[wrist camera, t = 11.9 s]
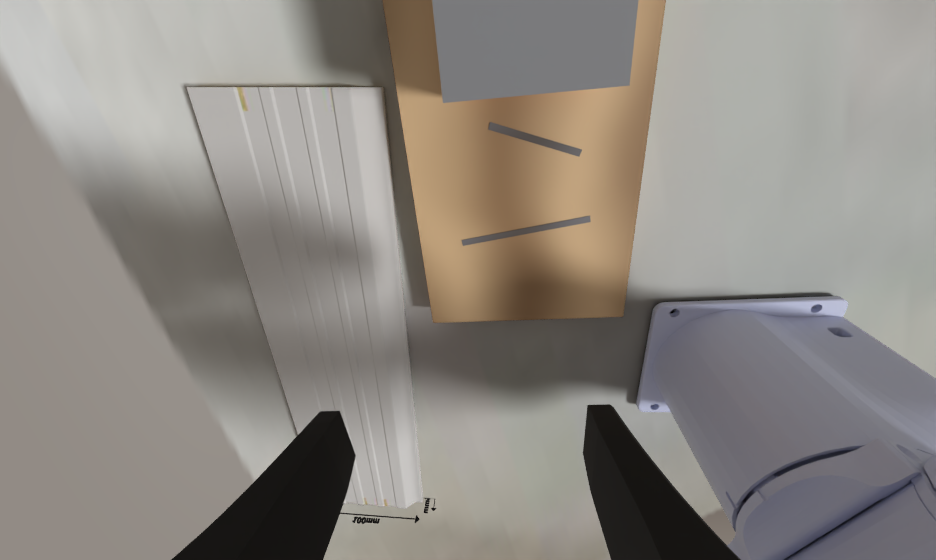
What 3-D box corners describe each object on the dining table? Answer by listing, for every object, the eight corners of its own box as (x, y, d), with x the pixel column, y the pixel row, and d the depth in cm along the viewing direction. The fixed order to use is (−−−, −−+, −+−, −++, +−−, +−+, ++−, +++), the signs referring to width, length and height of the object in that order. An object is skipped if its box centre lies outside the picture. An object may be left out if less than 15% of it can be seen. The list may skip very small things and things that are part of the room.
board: (697, -387, 10) (728, -461, 9) (614, 301, 20) (623, 317, 19) (345, -310, 11) (324, -366, 10) (437, 308, 21) (433, 323, 20)
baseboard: (419, 87, 16) (208, 87, 17) (405, 87, 14) (158, 87, 15) (441, 493, 30) (326, 485, 31) (436, 529, 28) (311, 519, 29)
